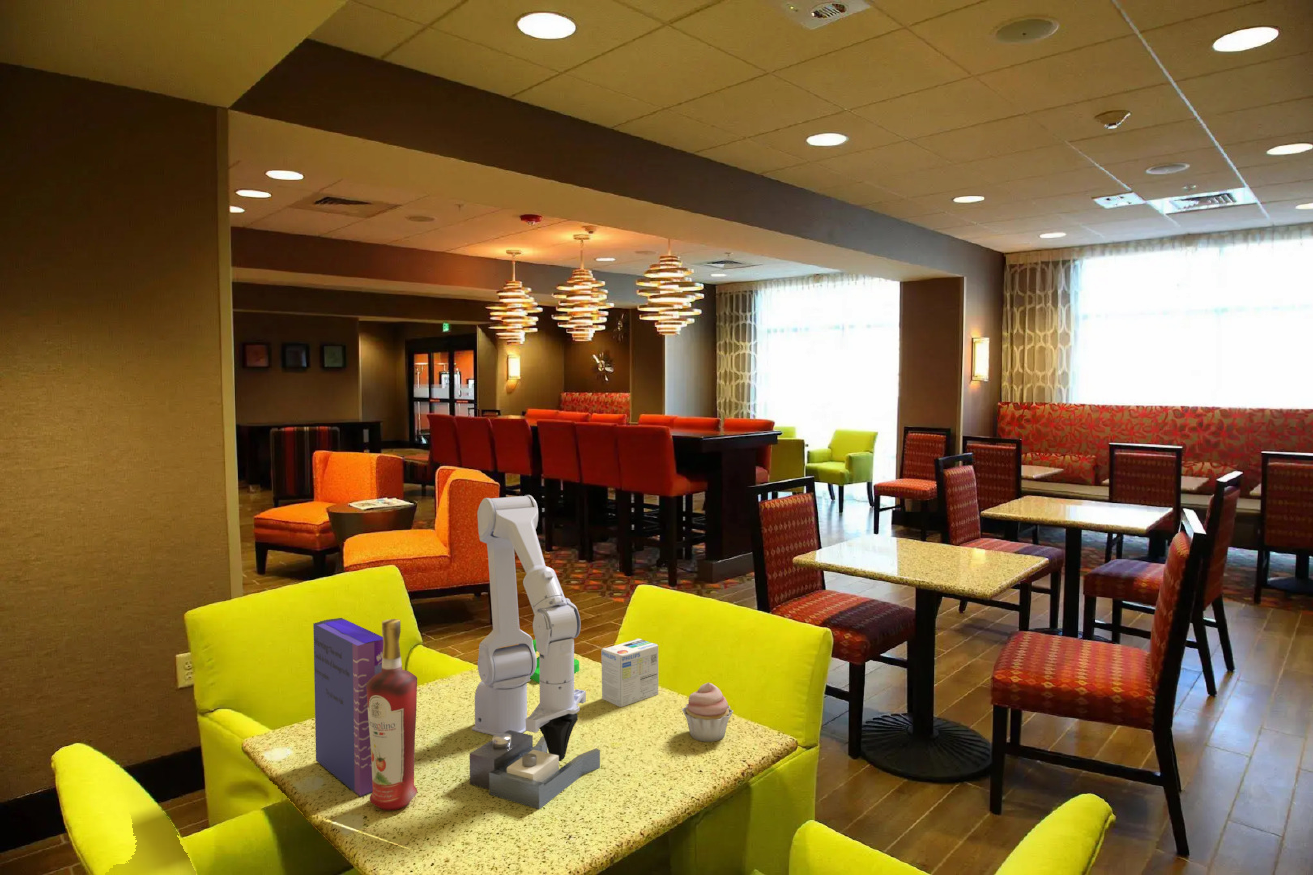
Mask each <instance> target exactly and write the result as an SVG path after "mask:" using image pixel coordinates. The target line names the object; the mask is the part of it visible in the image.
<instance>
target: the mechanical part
mask: <svg viewBox="0 0 1313 875" xmlns="http://www.w3.org/2000/svg"><path fill="white" fill-rule="evenodd" d="M532 640H533V647H534V650H535V653H536V654H537V648H536V639H532ZM536 658H537V666H536V670H535V672H534V674H533V675H532V676H530V678H531V679H530V680H532V679H533V680H532V681H534V682H536V683H538V684H540V667H539V656H538V657H536ZM576 672H577V673H579V672H580V660H579V659H576V658H575V657H574V675H575V674H577V673H576Z"/></svg>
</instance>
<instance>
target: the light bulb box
mask: <svg viewBox="0 0 1313 875" xmlns="http://www.w3.org/2000/svg"><path fill="white" fill-rule="evenodd" d="M600 654H601V699H602V700H603V701H606V702H607V703H610V704H612V705H614V706H617V707H619V708H623V707H626V706H628V705H631V704H635V703H637V702H640V701H642V700H646V699H649V698H652V697H655V696H656V695H659V645H658V644H657V643H655V642H654V643H653V642H650V641H647V640H644V639H642V638H635V639H632V640H629V641H626V642H622V643H620V644H615V645H612V646H609V647H603V648H601V653H600Z"/></svg>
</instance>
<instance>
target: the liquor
mask: <svg viewBox="0 0 1313 875" xmlns="http://www.w3.org/2000/svg"><path fill="white" fill-rule="evenodd" d="M401 628H402V627H401V620H400V619H398V618H397V619H396V618H392V619H385V620H382V622H381V636H382V637H383V641H384V644H383V658H382V671H381V672H380V673H378V674H376V675H374V676H373V677H372V678H371V679H370V680H369V681H368V682H367V683H366V688H367V704H368V721H369V732H370V745H371V762H372V785H373V792H372V793H371V794H370V796H369V801H370V803H371V804H372V805H374V806H375V807H376V808H379V809H380V810H382V811H388V812H390V811H391V812H392V811H397V810H401V809H402V808H404V807H406V806H408V804H409V803H410V802H412V800H413V799H414V798H415V797H416V795H417V793H418V789H417V787H416V785H415V749H416V725H417V723H416V722H417V706H418V705H417V699H418V677H417V676H416V675H415V674H413V673H412V672H411V671H409V670H406V669H403V664H402V655H401V647H400V637H401V630H402V629H401Z"/></svg>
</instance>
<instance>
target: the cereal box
mask: <svg viewBox="0 0 1313 875" xmlns="http://www.w3.org/2000/svg"><path fill="white" fill-rule="evenodd" d="M383 644H384V641H383V636H382V635H380V634H378V633H376V632H373V631H371V630H369V629H366V628H364V627H362V626H360V625H358V624H356V623H354V622H352V621H349V620H347V619H345V618H343V617H337V618H330V619H324V620H320V621H317V622H314V623H313V657H314V658H313V669H314V670H313V671H314V674H313V675H314V676H313V678H314V723H315V724H314V725H315V728H314V729H315V762H317V764H319V765H320V766H322V767H323V768H324V769H325V770H326V771H328V772H329V773H330V774H331V775H332V776H334V777H335V778H336V779H337V780H338V781H340V782H341V783H342V784H343V785H345V787H347V788H349V789H350V790H351V791H352V792H353V793H354V794H356V795H357V796H358V797H359V798H362V797H363V798H364V797H366V796H367V795H371V794H372V792H373V785H372V762H371V745H370V732H369V721H368V704H367V688H366V683H367V682H368V681H369V680H370V679H371V678H372V677H373V676H374V675H376V674H378V673H380V672H381V671H382V658H383Z"/></svg>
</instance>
